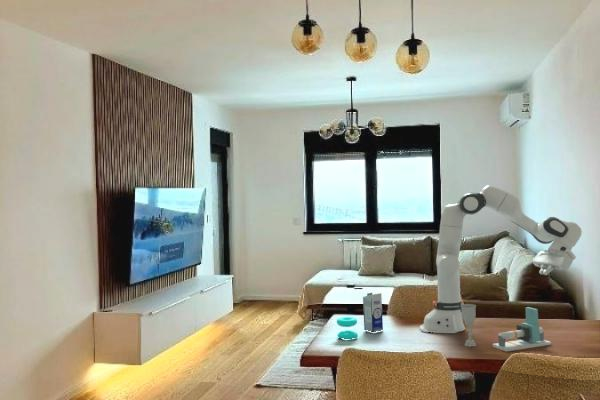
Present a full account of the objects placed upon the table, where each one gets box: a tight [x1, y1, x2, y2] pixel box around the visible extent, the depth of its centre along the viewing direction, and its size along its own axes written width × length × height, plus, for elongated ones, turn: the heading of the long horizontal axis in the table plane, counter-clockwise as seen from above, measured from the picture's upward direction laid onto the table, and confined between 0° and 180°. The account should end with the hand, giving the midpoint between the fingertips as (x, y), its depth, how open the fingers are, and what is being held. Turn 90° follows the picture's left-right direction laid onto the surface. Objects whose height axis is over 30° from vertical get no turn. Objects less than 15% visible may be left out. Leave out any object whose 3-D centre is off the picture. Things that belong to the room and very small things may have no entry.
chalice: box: [461, 303, 477, 348], centre depth 251 cm, size 7×7×18 cm
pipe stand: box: [492, 326, 552, 352], centre depth 246 cm, size 24×9×7 cm, turn 108°
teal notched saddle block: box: [520, 306, 540, 342], centre depth 248 cm, size 4×7×14 cm, turn 18°
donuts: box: [336, 316, 359, 339], centre depth 272 cm, size 10×10×10 cm
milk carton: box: [362, 292, 384, 332], centre depth 284 cm, size 7×7×20 cm
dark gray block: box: [516, 324, 530, 342], centre depth 247 cm, size 2×6×6 cm, turn 19°
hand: (542, 273), depth 261 cm, fingers closed
